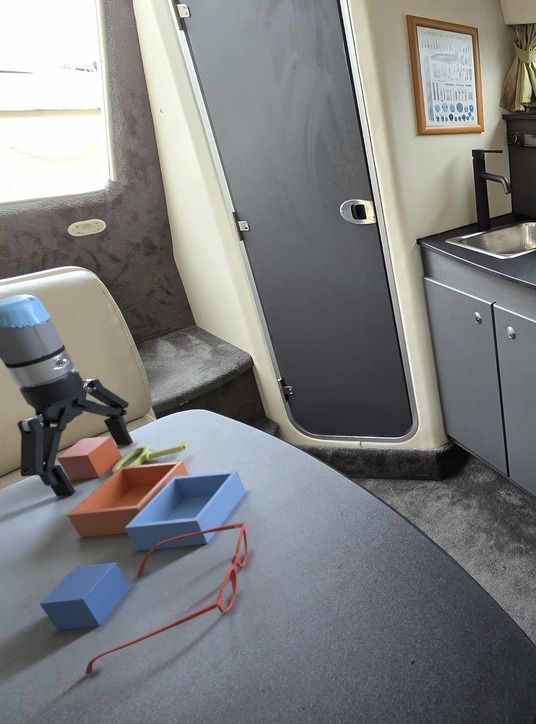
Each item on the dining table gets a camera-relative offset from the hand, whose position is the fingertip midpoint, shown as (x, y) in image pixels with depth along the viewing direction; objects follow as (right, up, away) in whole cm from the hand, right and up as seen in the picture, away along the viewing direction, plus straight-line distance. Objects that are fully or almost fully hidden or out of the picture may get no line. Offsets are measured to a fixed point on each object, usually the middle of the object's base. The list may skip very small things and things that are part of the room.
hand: (97, 467), depth 98 cm
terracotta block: (0, 0, 0) cm, 0 cm away
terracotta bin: (+18, -3, -10) cm, 21 cm away
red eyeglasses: (+39, -9, -26) cm, 48 cm away
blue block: (+27, -10, -27) cm, 40 cm away
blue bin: (+30, -4, -13) cm, 33 cm away
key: (+9, +1, +2) cm, 9 cm away
